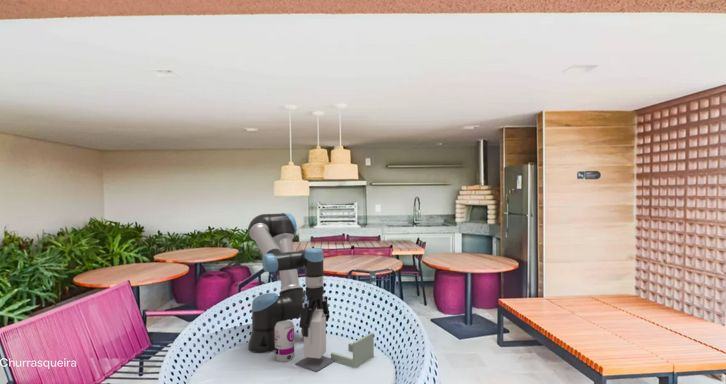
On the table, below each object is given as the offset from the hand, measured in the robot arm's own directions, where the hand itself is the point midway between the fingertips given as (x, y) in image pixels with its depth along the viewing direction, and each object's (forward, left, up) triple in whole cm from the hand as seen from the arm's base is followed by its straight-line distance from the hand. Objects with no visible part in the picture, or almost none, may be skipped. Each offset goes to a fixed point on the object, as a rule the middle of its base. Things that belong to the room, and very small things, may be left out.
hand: (315, 340), depth 158 cm
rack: (+10, +12, -9) cm, 18 cm away
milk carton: (0, 0, -6) cm, 6 cm away
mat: (0, 0, -9) cm, 9 cm away
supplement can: (-14, -4, -10) cm, 18 cm away
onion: (-19, +18, -10) cm, 28 cm away
